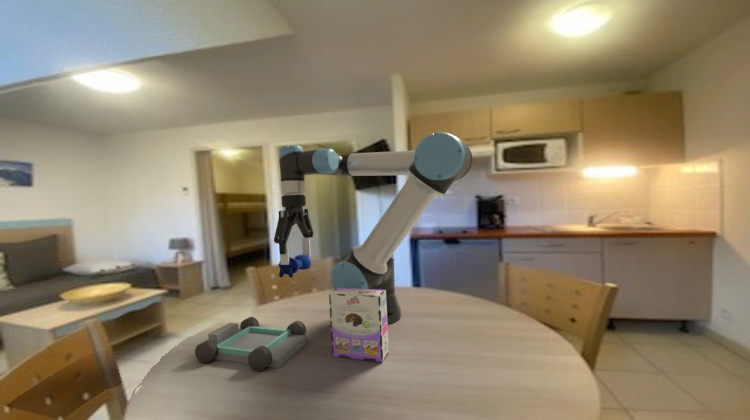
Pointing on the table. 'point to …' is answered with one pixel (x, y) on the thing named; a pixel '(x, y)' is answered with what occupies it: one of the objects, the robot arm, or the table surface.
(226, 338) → the chassis
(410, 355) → the table surface
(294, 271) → the toy
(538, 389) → the table surface
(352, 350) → the candy box
